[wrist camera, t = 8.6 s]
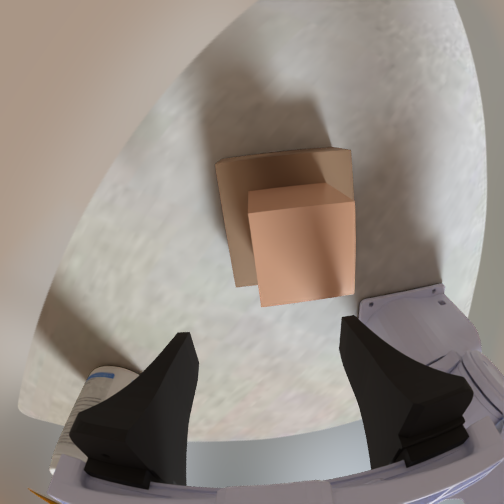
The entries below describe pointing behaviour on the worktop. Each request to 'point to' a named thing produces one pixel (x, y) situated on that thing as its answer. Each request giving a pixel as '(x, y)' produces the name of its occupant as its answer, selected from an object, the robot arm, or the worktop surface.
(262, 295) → the orange-tan cube
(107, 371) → the supplement tub
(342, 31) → the worktop surface
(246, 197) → the walnut block
